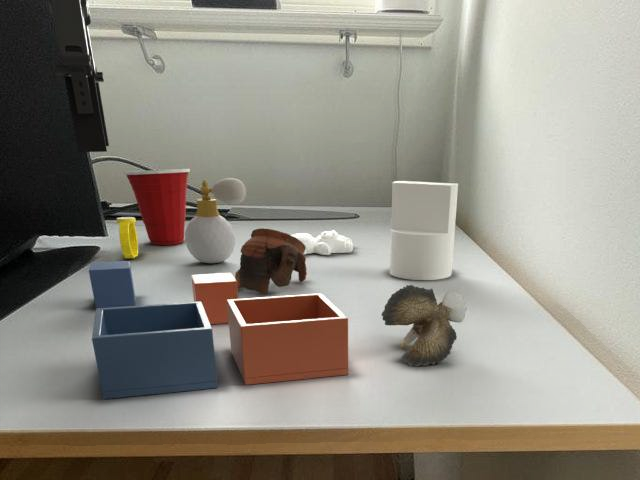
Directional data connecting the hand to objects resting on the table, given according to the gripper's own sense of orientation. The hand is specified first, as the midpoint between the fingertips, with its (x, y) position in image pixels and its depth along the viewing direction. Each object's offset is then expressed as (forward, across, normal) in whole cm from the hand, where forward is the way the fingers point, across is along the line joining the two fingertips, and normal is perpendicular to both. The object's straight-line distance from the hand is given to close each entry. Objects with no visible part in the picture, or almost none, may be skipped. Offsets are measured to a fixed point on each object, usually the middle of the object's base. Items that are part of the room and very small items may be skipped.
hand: (95, 149), depth 72 cm
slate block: (+17, -1, +1) cm, 17 cm away
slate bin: (+17, -28, -3) cm, 33 cm away
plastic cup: (+17, +41, -8) cm, 45 cm away
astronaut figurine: (+17, +26, -32) cm, 44 cm away
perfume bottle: (+17, +21, -14) cm, 31 cm away
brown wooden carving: (+17, +2, -19) cm, 26 cm away
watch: (+17, +28, -2) cm, 33 cm away
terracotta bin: (+17, -28, -15) cm, 36 cm away
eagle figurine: (+17, -28, -28) cm, 43 cm away
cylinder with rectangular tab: (+17, +5, -41) cm, 45 cm away
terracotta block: (+17, -11, -10) cm, 22 cm away
